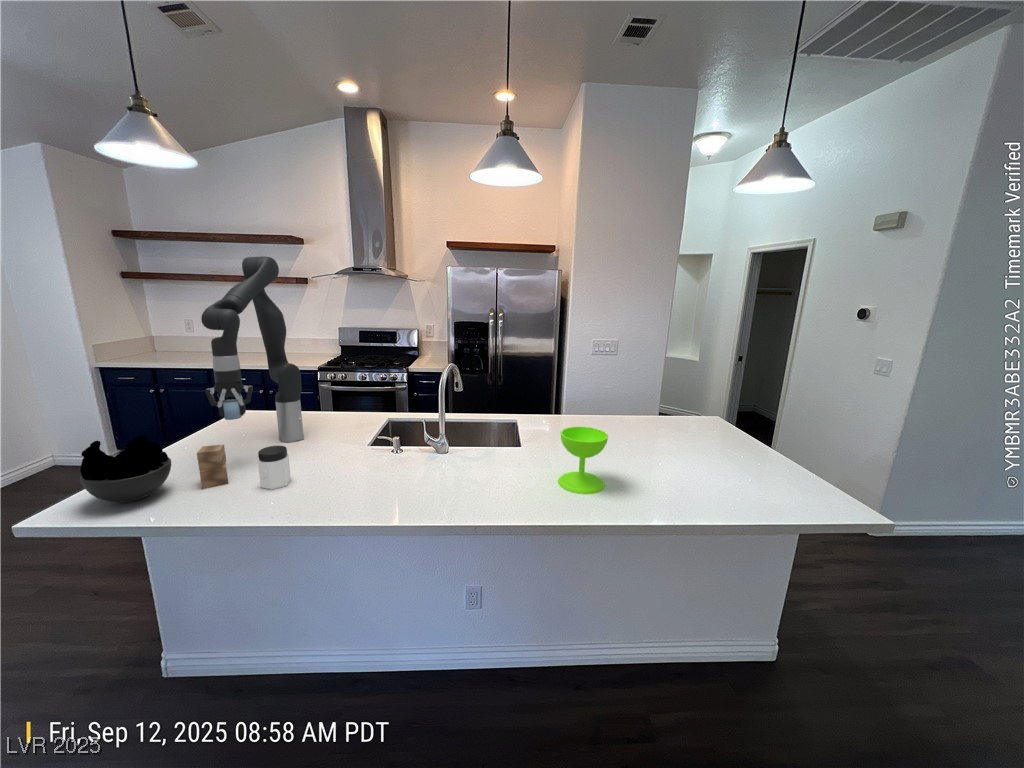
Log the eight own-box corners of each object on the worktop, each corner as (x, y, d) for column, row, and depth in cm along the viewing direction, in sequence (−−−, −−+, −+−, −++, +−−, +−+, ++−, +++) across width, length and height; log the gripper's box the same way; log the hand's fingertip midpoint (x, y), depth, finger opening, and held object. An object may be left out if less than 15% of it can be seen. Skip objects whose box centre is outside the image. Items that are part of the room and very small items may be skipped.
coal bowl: (192, 487, 133) (183, 432, 129) (123, 520, 113) (110, 456, 109) (142, 480, 137) (132, 426, 132) (67, 510, 117) (53, 448, 113)
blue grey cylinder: (242, 415, 147) (240, 398, 146) (240, 418, 143) (238, 402, 142) (225, 416, 145) (223, 400, 144) (223, 420, 141) (221, 403, 140)
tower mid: (226, 461, 139) (224, 444, 138) (221, 468, 134) (219, 450, 132) (204, 463, 137) (202, 446, 136) (199, 470, 132) (196, 452, 130)
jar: (254, 487, 134) (250, 452, 132) (275, 476, 142) (272, 443, 139) (276, 491, 132) (272, 456, 129) (296, 480, 139) (293, 447, 137)
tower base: (227, 476, 141) (225, 460, 140) (228, 484, 136) (226, 467, 135) (201, 481, 137) (199, 464, 136) (202, 489, 132) (199, 472, 130)
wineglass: (567, 470, 154) (569, 423, 150) (609, 479, 146) (613, 431, 143) (550, 486, 140) (553, 436, 136) (596, 498, 133) (600, 445, 129)
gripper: (252, 365, 147) (257, 411, 150) (203, 367, 140) (209, 415, 144) (250, 368, 140) (255, 416, 144) (198, 371, 134) (205, 421, 137)
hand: (232, 415), depth 144 cm, fingers closed on blue grey cylinder, 5 cm apart
